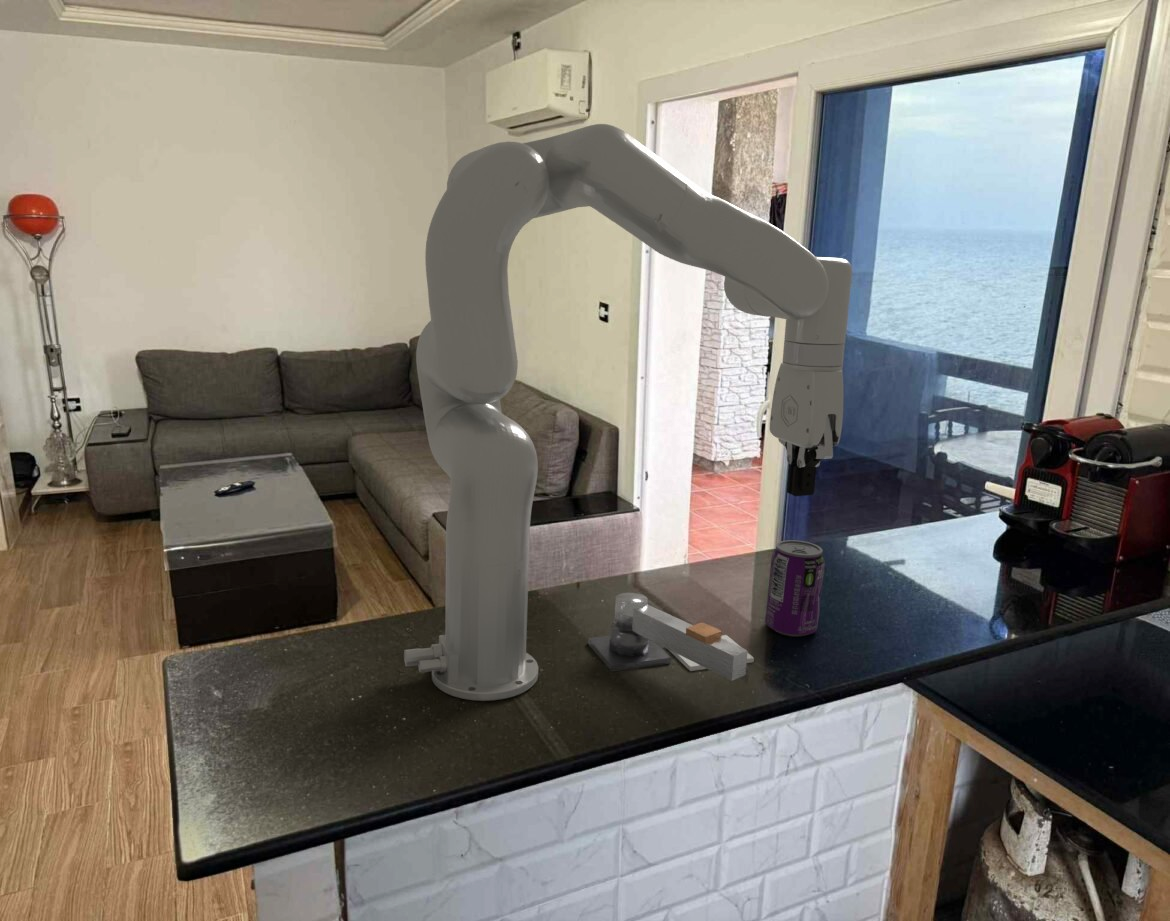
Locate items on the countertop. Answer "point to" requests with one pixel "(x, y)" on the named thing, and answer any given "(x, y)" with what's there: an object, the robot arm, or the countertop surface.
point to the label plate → (694, 666)
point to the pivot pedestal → (627, 650)
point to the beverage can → (795, 588)
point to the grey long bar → (680, 636)
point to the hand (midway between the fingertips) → (800, 493)
